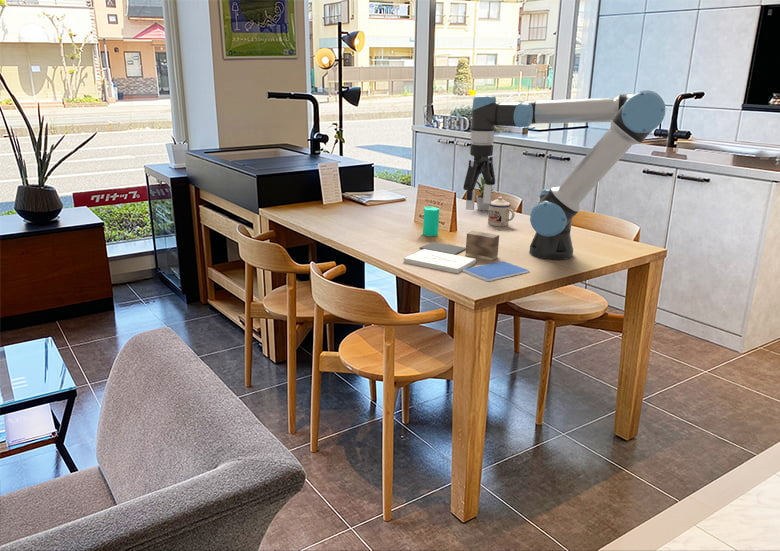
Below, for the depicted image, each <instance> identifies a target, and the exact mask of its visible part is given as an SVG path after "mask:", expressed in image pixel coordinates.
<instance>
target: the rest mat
mask: <svg viewBox="0 0 780 551" xmlns="http://www.w3.org/2000/svg"><path fill="white" fill-rule="evenodd" d="M419 249H420V250H423V249H427V250H432V251H437V252H443V253H448V254H453V255H458V254H460V253H463V252H465V251H466V246H465V247H464V246H458V245H453V244H449V243H448V244H447V243H442V242H436V241H430V242H429V243H427V244H424V245H422V246H420V247H419Z"/></svg>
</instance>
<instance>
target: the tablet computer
mask: <svg viewBox="0 0 780 551" xmlns="http://www.w3.org/2000/svg"><path fill="white" fill-rule="evenodd" d="M530 271H531V270H529V269H526V268H523V267H521V266H520V265H519V266H518V265H515V264H513V263H509V262H507V261H503V260H502V261H498V262H497V261H496V262H493V263H489V264H484V265H478V266H477V265H476V266H473V267H468V268H466V269H463V270H462V271H461V272H463V273H464V274H466V275H469V276H471V277H475V278H477V279H480V280H482V281H485V282H493V281H496V280H501V279H506V278H511V277H516V276H519V275H524V274H525V275H526V274H529V273H530Z"/></svg>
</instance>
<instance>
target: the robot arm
mask: <svg viewBox="0 0 780 551" xmlns="http://www.w3.org/2000/svg"><path fill="white" fill-rule="evenodd" d="M665 115H666V105H665V101H664V100H663V98H662V97H661V96H660V94H658V92H657V93H656V92H655V91H652V90H640V91H637V92H632V93H624V94H618V95H617V96H616V97H606V98H583V99H582V98H579V99H578V98H575V99H556V100H555V99H553V100H551V99H549V100H519V101H516V102H500V101H497V98H496V96H494V95H475V96H474V98H473V100H472V109H471V132H470V142H471V144H470V150H469V151H470V152H469V154H470V155H471V157H473V159H469V160H468V167H467V171H466V175H465V180H464V184H463V187H462V188H463V190H464V191H466V194H465V195H466V197H465V198H466V199H465V210H469V211H474V210H475V202H476V201H475V199H476V198H475V197H476V190H475V189H476V184H477V183H476V182H477V181H478V180H479V177H480V176H481V175H482V178H484V181H485V184H484V193H483V203H488V204H491V201H492V198H491V197H492V194H493V193H492V192H493V190H492V189H493V186H494V185H495V184H496V175H495V171H494V162H493V160H494V159H493V152H494V145H493V143H494V142H495V140H494V139H495V126H496V127H508V128H509V127H511V128H513V127H514V128H515V127H516V128H528V127H530V126H532V125H535V124H536V125H537V124H576V123H577V124H578V123H579V124H581V123H584V124H586V123H610V127H609V129H607V131H606V132H605V133H604V134H603V135H602V137H600V138H599V139H598V141H597V142H596V143H595V145H594V146H593V147H592V148H591V149H590V150H589V151H588V152H587V154H586V155H585V156H584V157H583V158H582V159H581V160H580V162H578V164H577V166H575V167H574V168H573V170H572V171H571V172H570V173H569V174H568V176H567V177H566V178H564V180H563V182H561V184H560V185H559V186H553V187H551V188H550V189H549V188H548V189H547V188H546V189H545V188H543V189H541V190H540V194H539V202H537V204H535V206H533V208H532V210H531V212H530V216H529V221H530V222H529V223H530V226H531V227H532V228H533V230H534V231H535V234H534V236H533V239H532V241H531V242H530V243H531V244H530V245H529V254H531V255H532V256H533V257H534V256H535V257H537V258H541V259H546V260H568V259H570V258H572V257H573V256H574V247H573V242H572V238H571V229H572V222H573V221H572V220H573V218H574V217H575V216H576V215H577V214H578V213H579V212H580V204H581V202H583V201H584V199H585V198H586V197H587V196H588V195H589V193H590V192H591V191H593V190H594V188H595V187H596V186H598V184H599V183H600V181H602V179H604V177H605V176H606V175H607V174H608V173H609V171H610V170H612V169H613V167H615V165H616V164H617V163H618V162H619V161H620V159H621V158H622V157H623V156H624V155H625V154H626V153H627V152H628V151H629V149H630V148H631V147H632V146H634V145H640V144H642V143H643V141H644V140H645V139H646V138H647V137H649V135H650V134H651V133H652V132H653V131H655V129H656V128H658V127H659V126H660V125H661V123H662V122H663V120H664V118H665ZM474 188H475V189H474Z"/></svg>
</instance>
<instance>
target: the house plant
mask: <svg viewBox="0 0 780 551" xmlns="http://www.w3.org/2000/svg"><path fill="white" fill-rule="evenodd" d="M479 177H480V182H481V183H480V182H479V181H478V180H477V182H476V184H477V185H478V188H476V187H475V188H474V191H475V192H476V193H477V194H478V195H476V206H477V210H478V209H479V210H478V211H481V210H488V211H489V204H488V203H483V193H484V184H485V181H484V178H483V176H481V175H479ZM494 188H495V189H496V187H493V188H492V193H491V194H493V193H494V191H493V190H494ZM491 199H492V196H491Z"/></svg>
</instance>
